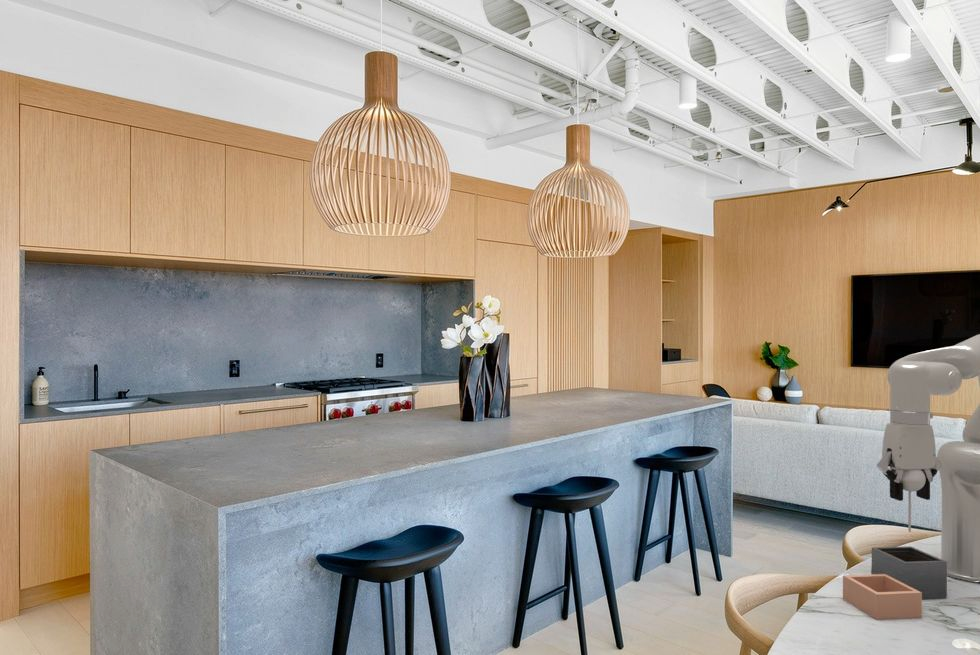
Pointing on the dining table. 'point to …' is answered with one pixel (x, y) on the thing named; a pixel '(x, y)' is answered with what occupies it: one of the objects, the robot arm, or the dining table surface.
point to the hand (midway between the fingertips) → (909, 497)
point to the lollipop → (912, 486)
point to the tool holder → (882, 596)
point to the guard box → (912, 569)
